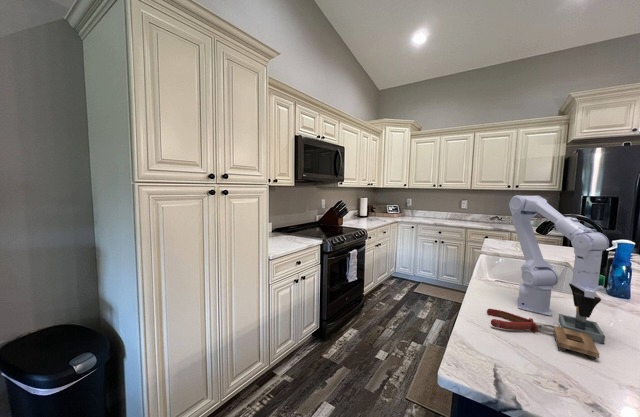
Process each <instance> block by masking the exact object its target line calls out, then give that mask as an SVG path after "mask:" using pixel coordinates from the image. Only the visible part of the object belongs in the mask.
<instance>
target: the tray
mask: <svg viewBox="0 0 640 417" xmlns="http://www.w3.org/2000/svg"><path fill="white" fill-rule="evenodd" d="M575 319H576V316H575V317H574V316H571V315H567V314H564V313H563V314H561V313H558V319H557V320H558V324H559V327H561V328H565V329H569V330H573V331H577V332H581V333H585V334H589V335H590V336H591V338H592V340H593V342H594V343H598V344H602V345H605V341H606V336H605V334H604V333H603V330H602V329H601V327H600V326H599V324H598V323H597V321H592V320H589V319H588V320H587V319H586V328H585V330H581V329H577V328H575Z"/></svg>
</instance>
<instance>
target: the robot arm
mask: <svg viewBox="0 0 640 417" xmlns="http://www.w3.org/2000/svg"><path fill="white" fill-rule="evenodd" d="M508 207H509V210H510V212H511V221H512V223H513V227H514V229H515V232H516V235H517V239H518V242H519V246H520V248H521V250H522V254H523V257H524V263H523V264H522V265H521V267H520V269H521V279H522V281H523V283H521V282H519V287H518V288H519V289H518V290H519V291H518V296H517V300H516V301H517V304H518V305H517V306H518V309H519V310H520V309H521V310H525V311H528V312H532V313H536V314H539V315H540V314H541V315H546V316H550V317H552V316H553V313H552V311H551V298H552V289H554V286H556V285H558V283H559V276H558V273H557V272H556V271H555V270H554V268H553V266H552V264H551V263H550V262H548V261H546V260H544V257H543V256H544V255H543V254H542V251H541V249H540V245H539V243H538V240H537V236H536V234H535V231H534V228H533V226H532V223H531V221H532V219H533V218H534V217H535V216H536V215H538V214H539V215H541V216H543V217H544V218H546V219H547V220H548V221H550V222H551V223H553V224H555V226H554V227H555V230H557V231H558V232H559V233H560V234H562V236H564V237H565V238H567V239H568V240H569V241H570V242H571V246H572V247H573V254H574V256H575V257H574V264H573V270H572V279H571V282H570V283H568V285H569V288H570V290H571V294H572V299H573V306H574V307H575V308H576V307H577V306H578V311H579V315H580V316H583V317H587V318H590V316H592V313H593V312H594V309H595V308H596V306H597V305H598V304H599V303H600V302H602V298H601V297H598V296H596V292H597V291H599V290H601V291H603V290H604V287H603V286H602V285H599V280H600V273H601V265H602V255H603V252H604V251H605V250H607V249H608V248H609V246H610V241H609V238H608V237H607V236H606V235H605V234H604V233H601V232H599V231H598V232H597V231H596V232H595V231H593V230H592V229H591V228H590V227H586V226H585V225H583V224H582V223H580V222H579V219H577V217H571V216H564V215H563V214H562V213H560V212H559V211H558V210H556V209H555V208H554V207H553V206H552V205H550V204H549V203H548V201H547V199H546V198H544V197H542V196H541V195H538V194H537V195H518V194H516V195H514V196H513V197H511V199H510V201H509V203H508ZM587 318H586V319H587Z"/></svg>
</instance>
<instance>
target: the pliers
mask: <svg viewBox="0 0 640 417" xmlns="http://www.w3.org/2000/svg"><path fill="white" fill-rule="evenodd" d="M486 314H487V315H488V316H491V317H495V318H493V319H491V320H490V324H491V326H493V327H494V328H497V329H502V330H506V331H507V330H508V331H531V332H532V333H538V331H541V332H545V333H546V332H547V333H552V334H553V333H554V328H553V327H554V326H555V325H550V324H547V323H542V322H538V321H537V322H536V321H534V319H533V318H531V317H530V318H526V317H523V316H519V315H516V314H514V313H511V312H508V311H504V310H501V309H494V308H488V309H487V310H486ZM496 318H500V319H496ZM501 318H502V319H505V320H506V321H505V320H501ZM507 320H508V321H507ZM554 334H555V333H554Z"/></svg>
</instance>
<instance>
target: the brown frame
mask: <svg viewBox="0 0 640 417" xmlns="http://www.w3.org/2000/svg"><path fill="white" fill-rule="evenodd" d="M553 326H554V327H553V328H554V337H555V339H556V343H557V346H558V348H559V350H561V351H563V352H565V351H566V349H567V350H570V351H573V352H578V353H580V354H584V355H587V356H588V358H589V359H592V360H596V359H597V358H598V359H599V358H600V352H599V350H598V348H597V346H596V344H595V342H593V340H592V338H591V336H590V335H589V334H585V333H581V332H577V331H573V330H569V329H565V328H561V327H560V326H556V325H553Z"/></svg>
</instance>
